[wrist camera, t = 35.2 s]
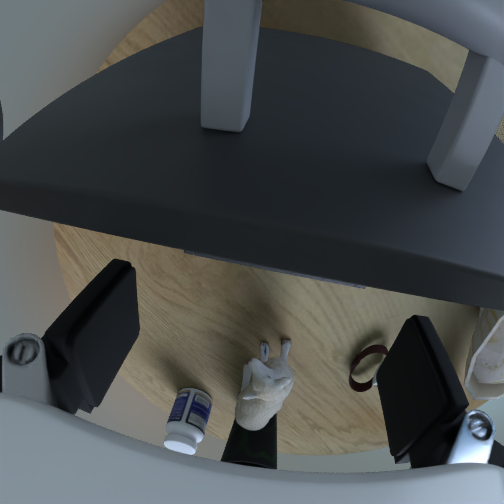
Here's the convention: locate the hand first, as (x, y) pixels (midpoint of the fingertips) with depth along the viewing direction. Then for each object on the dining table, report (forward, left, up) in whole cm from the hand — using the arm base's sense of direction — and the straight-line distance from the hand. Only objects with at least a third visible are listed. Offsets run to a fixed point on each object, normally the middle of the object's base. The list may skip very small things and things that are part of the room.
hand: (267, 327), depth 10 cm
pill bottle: (+19, -30, -20) cm, 41 cm away
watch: (+25, -4, -20) cm, 32 cm away
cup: (+25, -22, -20) cm, 39 cm away
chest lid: (-5, +6, -3) cm, 8 cm away
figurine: (+16, -14, -20) cm, 29 cm away
